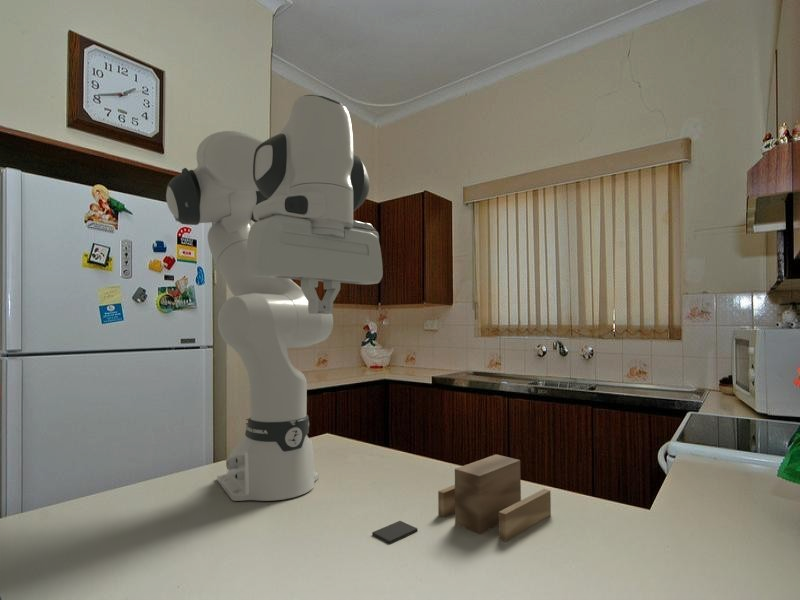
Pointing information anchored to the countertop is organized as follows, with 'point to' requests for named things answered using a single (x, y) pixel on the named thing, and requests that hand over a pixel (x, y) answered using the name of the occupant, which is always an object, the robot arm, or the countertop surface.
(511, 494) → the walnut block
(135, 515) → the countertop surface
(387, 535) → the mat
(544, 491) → the channel
